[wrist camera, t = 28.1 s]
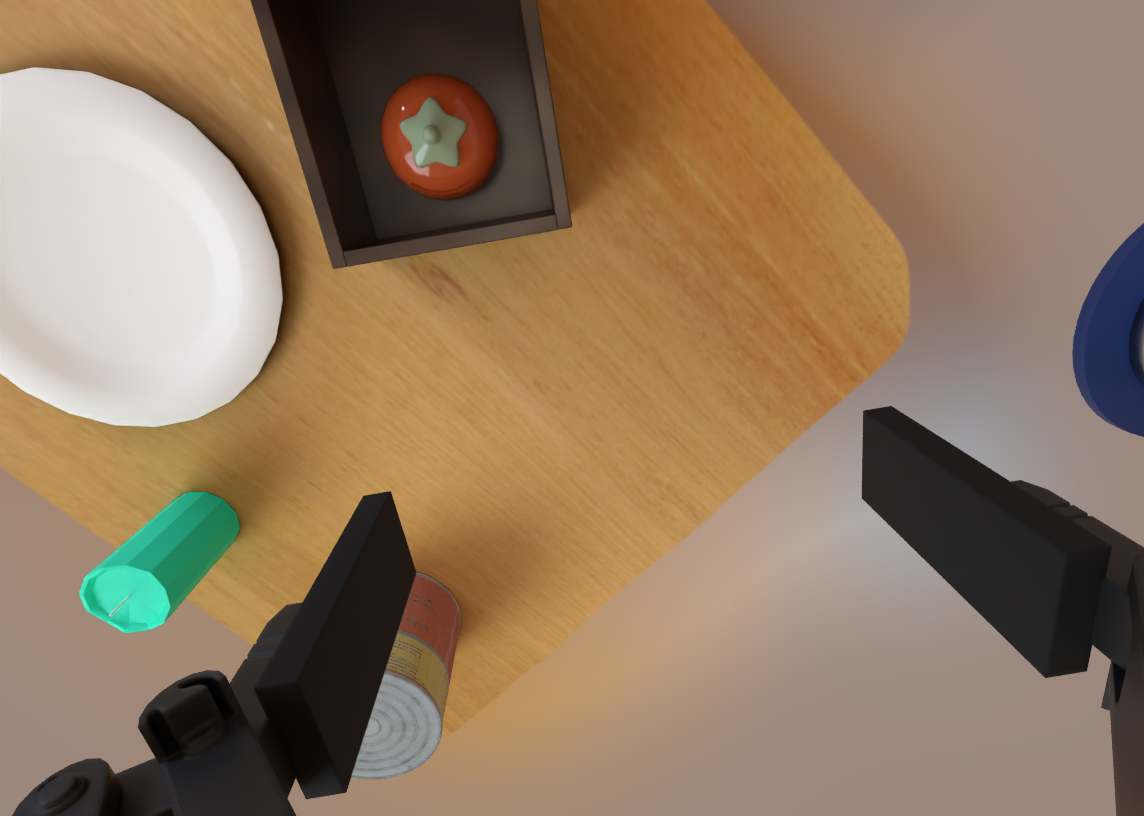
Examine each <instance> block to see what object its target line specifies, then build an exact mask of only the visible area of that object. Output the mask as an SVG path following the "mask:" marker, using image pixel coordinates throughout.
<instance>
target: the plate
mask: <svg viewBox="0 0 1144 816" xmlns="http://www.w3.org/2000/svg"><path fill="white" fill-rule="evenodd" d="M283 300H284V297H283V288H282V278H281V268H280V259H279V253H278V250H277V247H276V245H275V242H274V239H273V236H272V234H271V231H270V228H269V225H268V223H267V220H266V217H265V214H264V212H263V209H262V207H261V205H260V204H259V202H258V201H257V199H256V198H255V196H254V195H253V193H252V191H251V190H250V188H249V187H248V185H247V184H246V182H245V181H244V179H243V178H242V176H241V175H240V173H239V171H238V170H237V168H236V167H235V165H234V164H233V162H232V161H231V160H230V159H229V158H228V157H227V156H226V155H225V154H224V153H223V152H222V151H221V150H220V149H219V148H218V147H217V146H216V145H215V144H213V143H212V142H211V141H210V140H209V139H208V138H207V137H206V136H205V135H204V134H203V133H202V132H201V131H200V130H199V129H198V128H197V127H196V126H195V125H194V124H193V123H192V122H191V121H189V120H188V119H186V118H184V117H183V116H181V115H180V114H178V113H177V112H175V111H173V110H172V109H170V108H169V107H167V106H166V105H164V104H162V103H161V102H159V101H158V100H156V99H155V98H153V97H151V96H150V95H148V94H147V93H145V92H144V91H141V90H138V89H135V88H132V87H130V86H127V85H124V84H121V83H118V82H115V81H113V80H110V79H107V78H104V77H101V76H98V75H96V74H93V73H90V72H85V71H73V70H61V69H49V68H37V67H33V68H28V69H23V70H19V71H14V72H10V73H5V74H0V373H1V374H2V375H3V376H5V377H6V378H7V379H9V380H10V381H11V382H13V383H14V384H15V385H17V386H18V387H19V388H21V389H22V390H23V391H25V392H26V393H28V394H31V395H33V396H35V397H37V398H39V399H41V400H43V401H45V402H47V403H49V404H51V405H53V406H55V407H57V408H59V409H61V410H63V411H65V412H67V413H70V414H74V415H77V416H81V417H85V418H89V419H93V420H96V421H100V422H104V423H108V424H111V425H124V426H147V427H159V426H164V425H169V424H174V423H179V422H184V421H189V420H194V419H197V418H199V417H201V416H203V415H205V414H207V413H209V412H211V411H213V410H215V409H217V408H219V407H221V406H223V405H225V404H227V403H229V402H231V401H232V400H233V399H234V398H235V397H236V396H237V395H238V394H239V393H240V392H241V391H242V390H243V389H244V388H245V387H246V386H247V385H248V384H249V383H250V382H251V381H252V380H253V379H254V378H255V377H256V376H257V375H258V374H259V373H260V371H261V369H262V367H263V365H264V363H265V361H266V359H267V357H268V355H269V353H270V351H271V349H272V347H273V346H274V344H275V342H276V340H277V334H278V328H279V323H280V317H281V311H282V306H283Z"/></svg>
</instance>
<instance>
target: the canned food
mask: <svg viewBox="0 0 1144 816" xmlns="http://www.w3.org/2000/svg"><path fill="white" fill-rule="evenodd" d="M460 629H461V612H460V608H459V606H458V603H457V601H456V599H455V598H454V596H453V595H452V594H451V593H450V591H449V590H448V589H447V588H446V587H445V586H443V585H442V584H441V583H439V582H438V581H436V580H435V579H433V578H431V577H429V576H427V575H424V574H421V573H418V572H416V576H415V579H414V582H413V586H412V589H411V592H410V595H409V598H408V601H407V604H406V607H405V611H404V614H403V617H402V620H401V623H400V626H399V629H398V632H397V635H396V639H395V642H394V645H393V648H392V651H391V654H390V657H389V660H388V664H387V667H386V670H385V673H384V676H383V679H382V682H381V685H380V689H379V692H378V695H377V698H376V701H375V704H374V707H373V710H372V714H371V717H370V720H369V723H368V726H367V729H366V732H365V735H364V739H363V742H362V745H361V748H360V751H359V754H358V757H357V760H356V764H355V767H354V770H353V773H352V776H351V778H357V779H385V778H391V777H395V776H398V775H402V774H405V773H407V772H409V771H411V770H413V769H415V768H417V767H418V766H420V765H421V764H423V763H424V762H425V761H426V760H427V759H429V758H430V756H431V755H432V754H433V753H434V751H435V750H436V748H437V746H438V744H439V742H440V739H441V735H442V722H443V717H444V711H445V706H446V700H447V695H448V689H449V684H450V678H451V673H452V667H453V662H454V656H455V651H456V645H457V640H458V636H459V633H460Z"/></svg>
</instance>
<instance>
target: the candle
mask: <svg viewBox="0 0 1144 816" xmlns="http://www.w3.org/2000/svg"><path fill="white" fill-rule="evenodd" d="M239 529H240V526H239V522H238V518H237V513H236V512H235V511H234V510H233V509H232V507H231V506H230V505H229V504H228V503H227V502H226V501H225V500H224V499H222V498H220V497H217V496H215V495H212V494H210V493H207V492H187V493H185V494H184V495H182V496H180V497H179V498H177V499H175V500H174V501H172V502H171V503H170V504H169V505H168V506H167V507H165V508H164V509H163V510H162V511H161V512H160V513H158V514H157V515H156V516H155V517H154V518H153V519H152V520H150V521H149V522H148V523H147V524H146V525H145V526H143V527H142V528H141V529H140V530H139V531H138V532H136V533H135V534H134V535H133V536H132V537H131V538H129V539H128V540H127V541H126V542H125V543H124V544H122V545H121V546H120V547H119V548H118V549H117V550H116V551H114V552H113V553H112V554H111V555H110V556H109V557H107V558H106V559H105V560H104V561H103V562H102V563H100V564H99V565H98V566H97V567H96V568H95V569H94V570H92V571H91V572H90V573H89V574H88V575H87V576H85V578H84V581H83V584H82V586H81V589H80V592H79V596H80V598H81V600H82V602H83V605H84V607H85V609H86V611H87V612H89V613H91V614H92V615H94V616H96V617H98V618H100V619H101V620H103V621H105V622H107V623H108V624H110V625H112V626H114V627H115V628H117V629H119V630H120V631H122V632H124V633H131V632H139V631H146V630H151V629H153V628H155V627H157V626H160V625H162V624H163V623H164V622H165V621H166V620H167V619H168V618H169V617H170V615H171V614H172V613H173V612H174V611H175V610H176V608H177V607H178V606H179V605H180V604H181V603H182V601H183V600H184V599H185V598H186V597H187V596H188V595H189V593H190V592H191V591H192V590H193V589H194V588H195V586H196V585H197V584H198V583H199V582H200V581H201V579H202V578H203V577H204V576H205V575H206V574H207V572H208V571H209V570H210V569H211V568H212V567H213V565H214V564H215V563H216V562H217V561H218V560H219V558H220V557H221V556H222V555H223V554H224V553H225V551H226V550H227V549H228V548H229V547H230V546H231V544H232V543H233V542H234V541H235V538H236V536H237V534H238V531H239Z"/></svg>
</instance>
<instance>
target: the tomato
mask: <svg viewBox="0 0 1144 816" xmlns="http://www.w3.org/2000/svg"><path fill="white" fill-rule="evenodd" d="M499 142H500V136H499V131H498V127H497V122H496V118H495V116H494V114H493V112H492V110H491V108H490V106H489V104H488V102H487V101H486V99H485V98H484V97H483V96H482V95H481V94H480V93H479V92H478V91H477V90H476V89H475V88H474V87H473V86H472V85H471V84H469V83H467V82H465V81H463V80H461V79H459V78H457V77H455V76H452V75H446V74H440V73H434V72H433V73H428V74H423V75H418V76H414V77H412V78H411V79H409V80H408V81H406V82H404V83H403V84H401V85H400V86H398V88H397V89H396V90H395V92H394V93H393V94H392V96H391V97H390V98H389V100H388V101H387V103H386V106H385V109H384V112H383V115H382V118H381V143H382V146H383V150H384V154H385V158H386V160H387V162H388V163H389V165H390V167H391V168H392V170H393V171H394V173H395V175H396V176H397V177H398V178H399V179H400V180H401V181H402V182H403V183H404V184H405V185H406V186H408V187H409V188H410V189H411V190H412V191H414V192H416V193H418V194H420V195H422V196H425V197H427V198H429V199H435V200H442V201H451V200H456V199H461V198H465V197H466V196H468V195H470V194H472V193H473V192H475V191H477V190H478V189H480V188H481V186H482V185H483V184H484V183H485V182H486V181H487V179H488V178H489V177H490V176H491V174H492V172H493V169H494V167H495V164H496V162H497V159H498V154H499Z"/></svg>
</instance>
